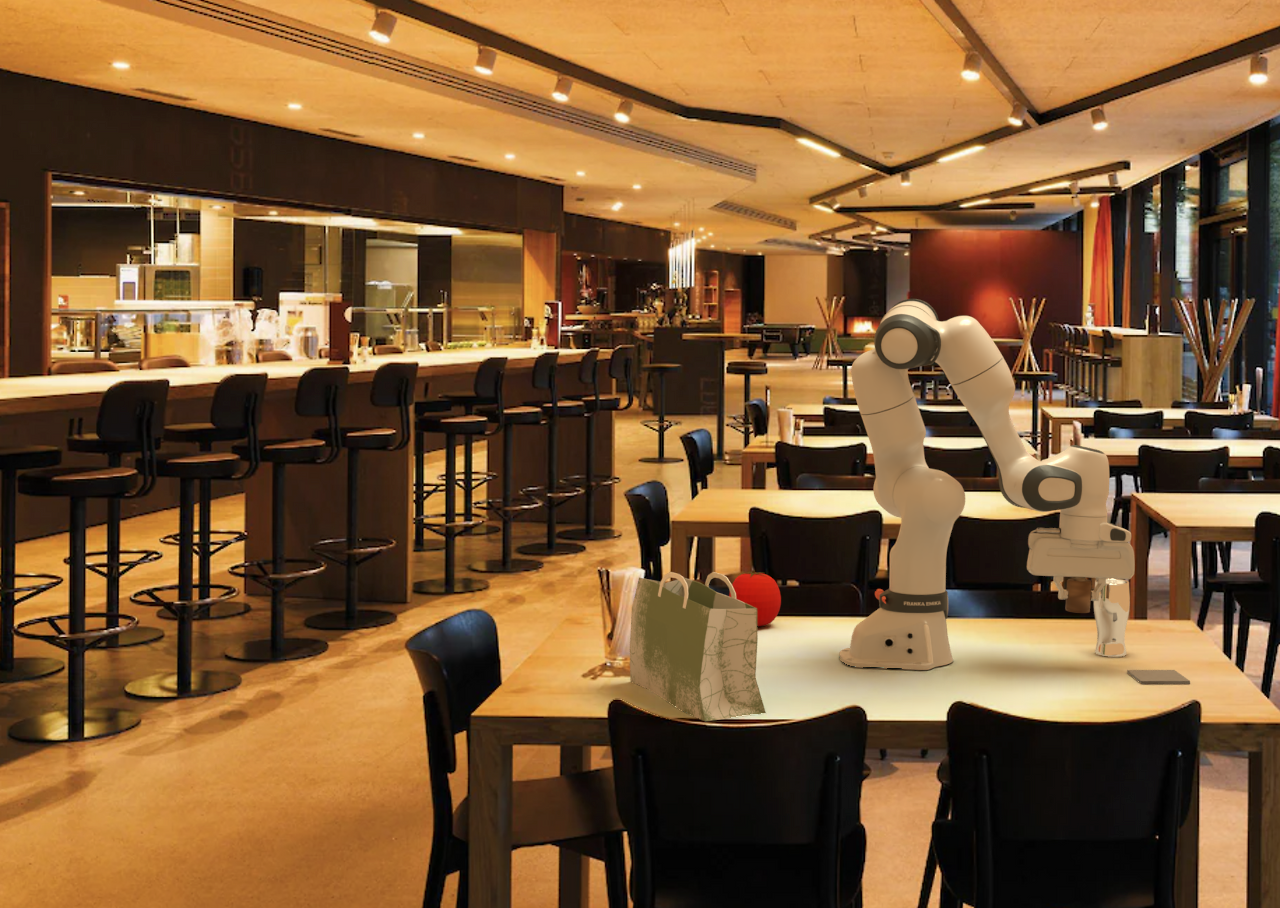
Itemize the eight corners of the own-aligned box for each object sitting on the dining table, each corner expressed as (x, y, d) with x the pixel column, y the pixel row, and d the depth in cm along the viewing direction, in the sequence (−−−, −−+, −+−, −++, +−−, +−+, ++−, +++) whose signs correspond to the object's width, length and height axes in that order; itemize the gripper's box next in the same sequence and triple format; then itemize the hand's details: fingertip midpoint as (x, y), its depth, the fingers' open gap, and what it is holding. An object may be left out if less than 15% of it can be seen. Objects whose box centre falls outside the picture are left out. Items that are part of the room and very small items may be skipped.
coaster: (1141, 684, 282) (1141, 681, 282) (1127, 673, 291) (1127, 669, 291) (1189, 684, 281) (1190, 680, 281) (1174, 672, 290) (1174, 669, 290)
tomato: (746, 619, 346) (746, 564, 345) (790, 624, 339) (790, 569, 338) (717, 628, 336) (716, 572, 335) (762, 634, 329) (762, 577, 328)
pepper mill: (1068, 612, 292) (1071, 574, 292) (1062, 608, 297) (1064, 570, 296) (1092, 613, 292) (1095, 575, 292) (1086, 609, 297) (1088, 571, 296)
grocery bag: (772, 713, 264) (772, 581, 262) (701, 722, 258) (700, 588, 256) (691, 674, 293) (691, 556, 291) (626, 682, 287) (625, 561, 285)
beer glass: (1130, 658, 303) (1132, 584, 302) (1094, 657, 304) (1095, 583, 303) (1126, 651, 310) (1128, 578, 308) (1091, 649, 311) (1092, 577, 310)
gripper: (1033, 529, 290) (1028, 600, 291) (1139, 533, 290) (1135, 604, 291) (1025, 525, 297) (1021, 594, 298) (1129, 529, 296) (1125, 599, 297)
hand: (1078, 599), depth 294 cm, fingers closed on pepper mill, 5 cm apart
